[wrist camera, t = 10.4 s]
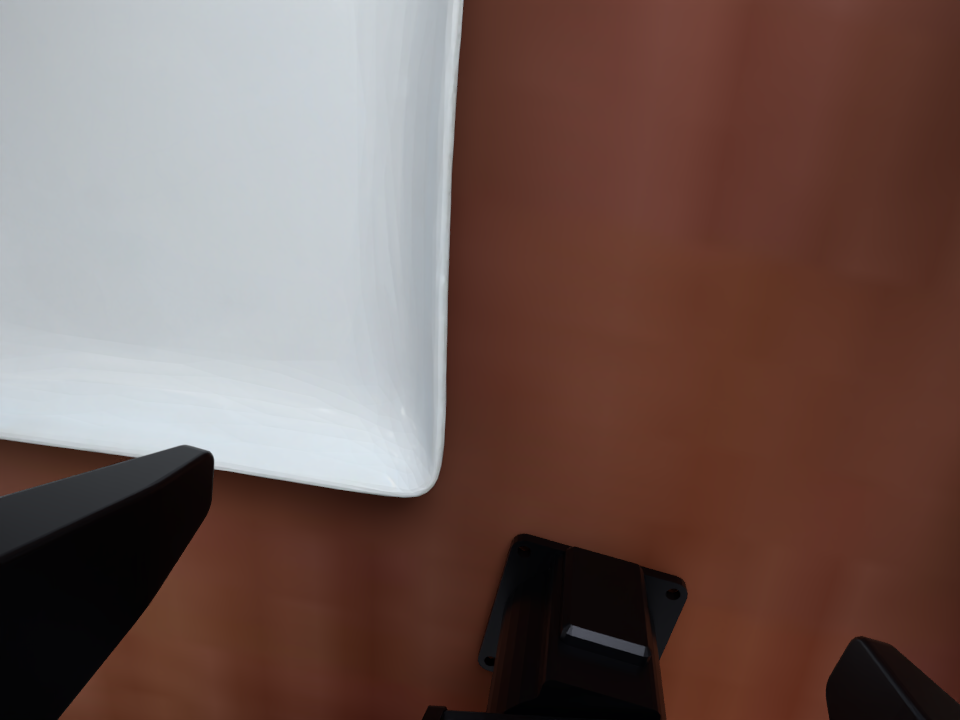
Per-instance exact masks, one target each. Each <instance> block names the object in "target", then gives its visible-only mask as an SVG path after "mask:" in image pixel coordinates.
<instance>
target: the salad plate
mask: <svg viewBox="0 0 960 720" xmlns="http://www.w3.org/2000/svg"><path fill="white" fill-rule="evenodd" d="M462 13H463V0H0V439H4V440H11V441H18V442H25V443H32V444H40V445H47V446H54V447H63V448H71V449H76V450H85V451H92V452H99V453H106V454H114V455H121V456H128V457H135V458H138V457H141V456H145V455H148V454H152V453H155V452H159V451H162V450H166V449H169V448H173V447H176V446H180V445H190V446H194V447H197V448H201V449H204V450H208V451H210V452H211V453H212V454H213V456H214V469H216V470H224V471H230V472H236V473H242V474H247V475H253V476H259V477H265V478H271V479H277V480H284V481H290V482H296V483H303V484H309V485H315V486H321V487H327V488H333V489H340V490H346V491H353V492H360V493H367V494H374V495H381V496H394V497H404V498H405V497H418V496H420V495H422V494H424V493H427V492H428V491H429V490H430V489H431V488H432V487H433V486H434V485H435V483H436V481H437V479H438V476H439V472H440V468H441V464H442V457H443V450H444V437H445V416H446V365H447V313H448V275H449V244H450V214H451V183H452V162H453V145H454V127H455V110H456V95H457V80H458V65H459V50H460V41H461V28H462Z"/></svg>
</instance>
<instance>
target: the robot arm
mask: <svg viewBox="0 0 960 720" xmlns="http://www.w3.org/2000/svg"><path fill="white" fill-rule="evenodd" d="M213 476H214V456H213V454H212V453H211V452H210V451H208V450H204V449H201V448H197V447H194V446H190V445H180V446H176V447H173V448H169V449H166V450H162V451H159V452H155V453H152V454H148V455H145V456H141V457H138V458H134V459H131V460H127V461H124V462H120V463H117V464H113V465H110V466H106V467H103V468H99V469H96V470H92V471H89V472H85V473H82V474H78V475H75V476H71V477H68V478H64V479H61V480H57V481H54V482H50V483H47V484H43V485H40V486H36V487H33V488H29V489H26V490H22V491H19V492H15V493H12V494H8V495H5V496H1V497H0V720H58V718H59V717H60V716H61V715H62V713H63V712H64V711H65V710H66V709H67V707H68V706H69V705H70V704H71V702H72V701H73V700H74V699H75V697H76V696H77V695H78V694H79V692H80V691H81V690H82V689H83V687H84V686H85V685H86V684H87V682H88V681H89V680H90V679H91V677H92V676H93V675H94V674H95V672H96V671H97V670H98V669H99V667H100V666H101V665H102V664H103V662H104V661H105V660H106V659H107V657H108V656H109V655H110V654H111V652H112V651H113V650H114V649H115V648H116V646H117V645H118V644H119V643H120V641H121V640H122V639H123V638H124V636H125V635H126V634H127V633H128V631H129V630H130V629H131V628H132V626H133V625H134V624H135V623H136V621H137V620H138V619H139V617H140V616H141V615H142V613H143V612H144V611H145V610H146V608H147V607H148V605H149V604H150V603H151V601H152V600H153V598H154V597H155V595H156V594H157V592H158V591H159V589H160V588H161V586H162V584H163V583H164V581H165V580H166V578H167V577H168V575H169V574H170V572H171V570H172V569H173V567H174V566H175V564H176V563H177V561H178V560H179V558H180V556H181V555H182V553H183V552H184V550H185V549H186V547H187V545H188V544H189V542H190V541H191V539H192V538H193V536H194V535H195V533H196V531H197V530H198V528H199V527H200V525H201V524H202V522H203V521H204V519H205V517H206V516H207V513H208V511H209V509H210V505H211V501H212V490H213ZM521 546H526V547H528V548H530V550H528V551H523V550H521V549H520V548H519V547H521ZM669 589H677V590H678V591H676V592H674V593H672V592H668V590H669ZM687 595H688V593H687V588H686V584H685V582H684V581H683V580H682V579H681V578H679V577H677V576H674V575H670V574H667V573H663V572H660V571H656V570H653V569H649V568H646V567H642V566H639V565H638V564H635V563H631V562H628V561H624V560H621V559H617V558H613V557H610V556H606V555H603V554H599V553H596V552H592V551H589V550H585V549H582V548H578V547H571V546H568V545H564V544H561V543H557V542H554V541H550V540H547V539H543V538H540V537H536V536H533V535H529V534H520V535H517V536H516V537H514V539H513V541H512V544H511V547H510V550H509V554H508V557H507V560H506V564H505V567H504V570H503V574H502V577H501V581H500V584H499V587H498V591H497V594H496V597H495V601H494V604H493V607H492V611H491V614H490V618H489V621H488V624H487V628H486V631H485V634H484V638H483V641H482V644H481V648H480V652H479V657H478V662H479V664H480V666H481V667H482V668H484V669H486V670H488V671H492V672H493V675H492V681H491V687H490V693H489V699H488V705H487V711H486V712H470V711H453V710H447V707H445V706H428V708H427V710H426V712H425V714H424V717H423V719H422V720H666V712H665V704H664V696H663V688H662V680H661V672H660V664H659V660H660V658H661V655H662V653H663V651H664V649H665V646H666V644H667V642H668V640H669V637H670V635H671V633H672V631H673V628H674V626H675V624H676V622H677V619H678V617H679V615H680V613H681V610H682V608H683V606H684V604H685V602H686V599H687ZM488 656H492V657H494V658H489V657H488ZM826 701H827V707H828V713H829V719H830V720H960V705H959V704H958V703H957V702H956V701H955V700H954V699H953V698H951V697H950V696H949V695H948V694H947V693H946V692H945V691H943V690H942V689H941V688H940V687H939V686H938V685H937V684H936V683H934V682H933V681H932V680H931V679H930V678H929V677H928V676H926V675H925V674H924V673H923V672H922V671H921V670H920V669H918V668H917V667H916V666H915V665H914V664H913V663H912V662H910V661H909V660H908V659H907V658H906V657H905V656H904V655H902V654H901V653H900V652H899V651H898V650H897V649H896V648H894V647H893V646H892V645H890V644H888V643H885V642H881V641H878V640H874V639H871V638H867V637H863V636H859V637H855V638H854V639H852V640H851V642H850V643H849V644H848V646H847V648H846V649H845V651H844V653H843V655H842V656H841V658H840V660H839V661H838V663H837V665H836V666H835V668H834V670H833V672H832V673H831V675H830V677H829V679H828V682H827V686H826Z"/></svg>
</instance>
